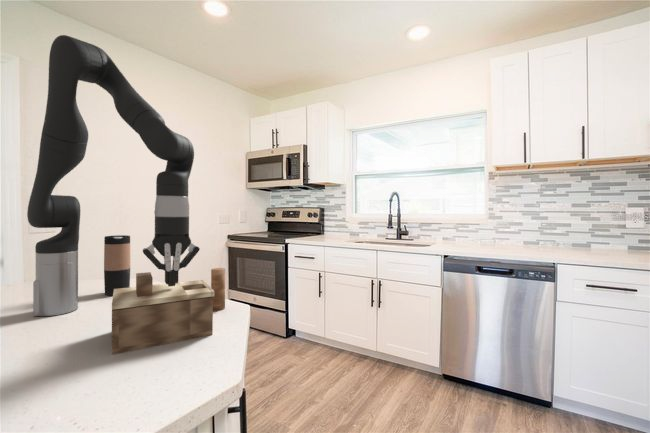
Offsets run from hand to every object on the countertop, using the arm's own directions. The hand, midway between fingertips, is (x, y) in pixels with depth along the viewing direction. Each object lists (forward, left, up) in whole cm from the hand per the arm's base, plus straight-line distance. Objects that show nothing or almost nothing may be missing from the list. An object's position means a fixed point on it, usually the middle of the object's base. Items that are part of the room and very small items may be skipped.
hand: (171, 285), depth 76 cm
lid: (-2, 0, -2) cm, 3 cm away
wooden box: (-2, 0, -11) cm, 11 cm away
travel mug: (-12, +46, -12) cm, 49 cm away
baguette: (+14, +12, -11) cm, 22 cm away
